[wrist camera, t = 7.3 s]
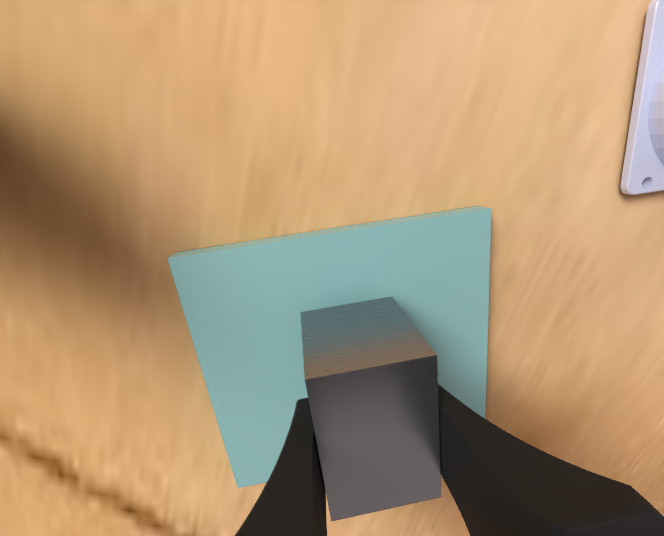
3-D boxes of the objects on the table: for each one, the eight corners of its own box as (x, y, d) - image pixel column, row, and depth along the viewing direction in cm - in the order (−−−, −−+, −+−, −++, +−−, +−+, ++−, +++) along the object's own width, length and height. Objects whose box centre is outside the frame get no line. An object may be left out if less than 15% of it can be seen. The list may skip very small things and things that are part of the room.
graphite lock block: (392, 296, 14) (436, 354, 10) (400, 407, 16) (441, 497, 12) (300, 312, 14) (304, 380, 9) (320, 423, 16) (331, 521, 11)
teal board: (478, 205, 15) (491, 208, 14) (475, 423, 19) (484, 436, 18) (175, 252, 14) (167, 258, 13) (240, 471, 18) (237, 487, 17)
